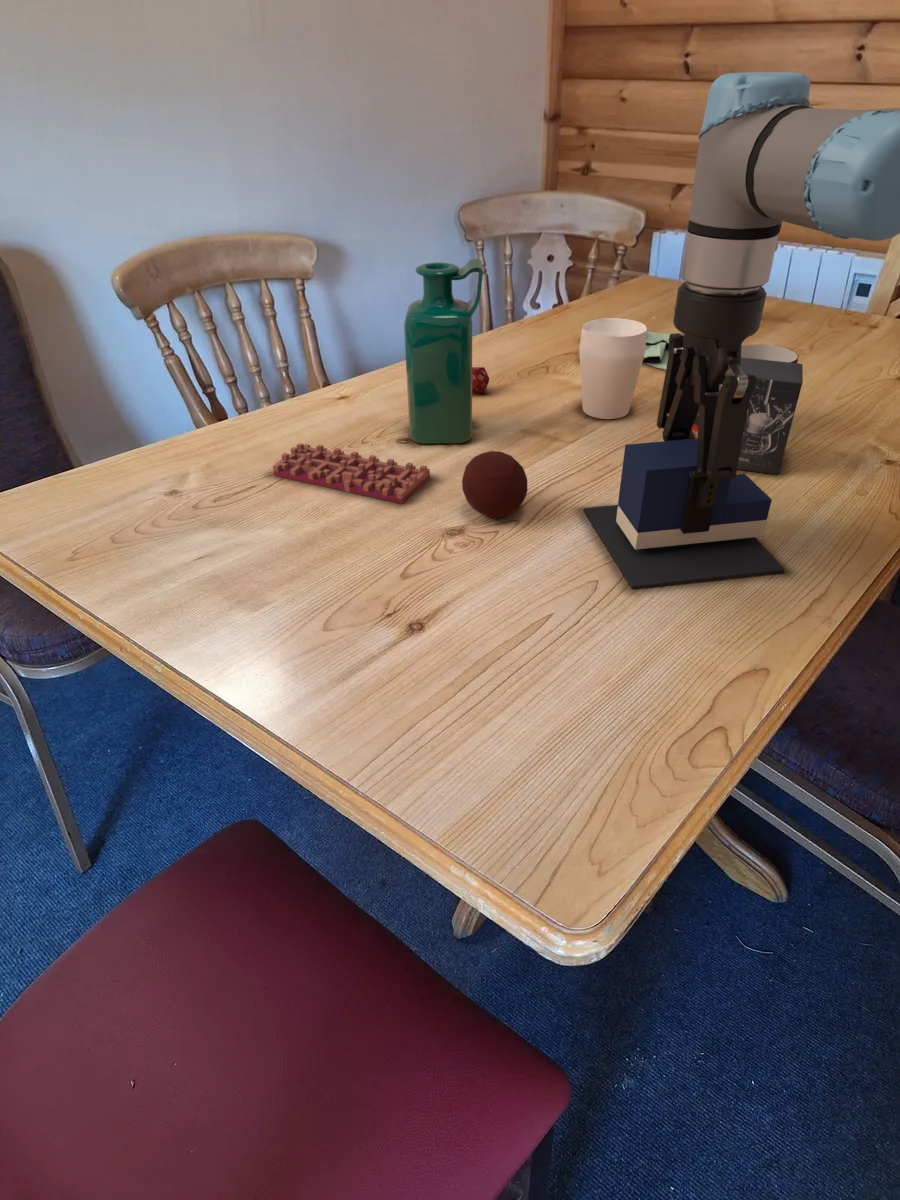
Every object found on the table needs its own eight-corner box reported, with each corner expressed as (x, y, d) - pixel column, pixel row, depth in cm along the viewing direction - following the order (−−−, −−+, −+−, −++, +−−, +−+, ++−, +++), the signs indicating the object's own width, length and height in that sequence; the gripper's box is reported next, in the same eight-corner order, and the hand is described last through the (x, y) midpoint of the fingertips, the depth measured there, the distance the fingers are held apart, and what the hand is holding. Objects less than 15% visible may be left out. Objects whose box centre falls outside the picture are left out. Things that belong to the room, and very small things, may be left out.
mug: (767, 449, 101) (785, 374, 96) (706, 436, 105) (720, 363, 99) (787, 421, 109) (805, 350, 103) (729, 410, 112) (743, 340, 106)
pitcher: (409, 445, 104) (400, 272, 91) (412, 420, 111) (404, 256, 98) (482, 444, 104) (483, 271, 91) (480, 420, 111) (481, 255, 98)
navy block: (635, 549, 80) (646, 470, 74) (615, 521, 84) (625, 444, 79) (763, 536, 81) (782, 457, 76) (736, 509, 86) (754, 433, 81)
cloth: (723, 349, 134) (726, 335, 133) (647, 381, 123) (649, 365, 121) (628, 325, 147) (629, 311, 145) (550, 351, 135) (551, 337, 134)
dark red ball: (465, 529, 86) (465, 471, 82) (459, 496, 92) (458, 441, 88) (531, 525, 86) (534, 468, 82) (520, 493, 93) (523, 438, 89)
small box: (670, 462, 99) (684, 369, 92) (676, 440, 104) (690, 351, 97) (779, 476, 95) (803, 380, 88) (780, 453, 100) (803, 361, 93)
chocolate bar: (302, 452, 103) (301, 438, 102) (430, 478, 96) (429, 463, 95) (270, 474, 98) (267, 460, 97) (402, 504, 91) (401, 489, 90)
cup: (650, 411, 112) (661, 327, 105) (608, 428, 108) (618, 341, 101) (602, 394, 118) (610, 313, 111) (561, 410, 113) (567, 326, 106)
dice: (488, 387, 121) (488, 362, 119) (489, 397, 118) (489, 372, 115) (464, 387, 122) (464, 362, 119) (464, 398, 118) (464, 372, 116)
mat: (784, 572, 78) (785, 569, 78) (631, 589, 76) (632, 586, 76) (715, 498, 91) (715, 495, 91) (583, 511, 89) (583, 508, 89)
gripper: (821, 311, 61) (758, 559, 74) (716, 258, 76) (679, 471, 90) (731, 317, 60) (683, 566, 74) (643, 262, 75) (617, 477, 89)
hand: (681, 514), depth 82 cm, fingers closed on navy block, 6 cm apart
